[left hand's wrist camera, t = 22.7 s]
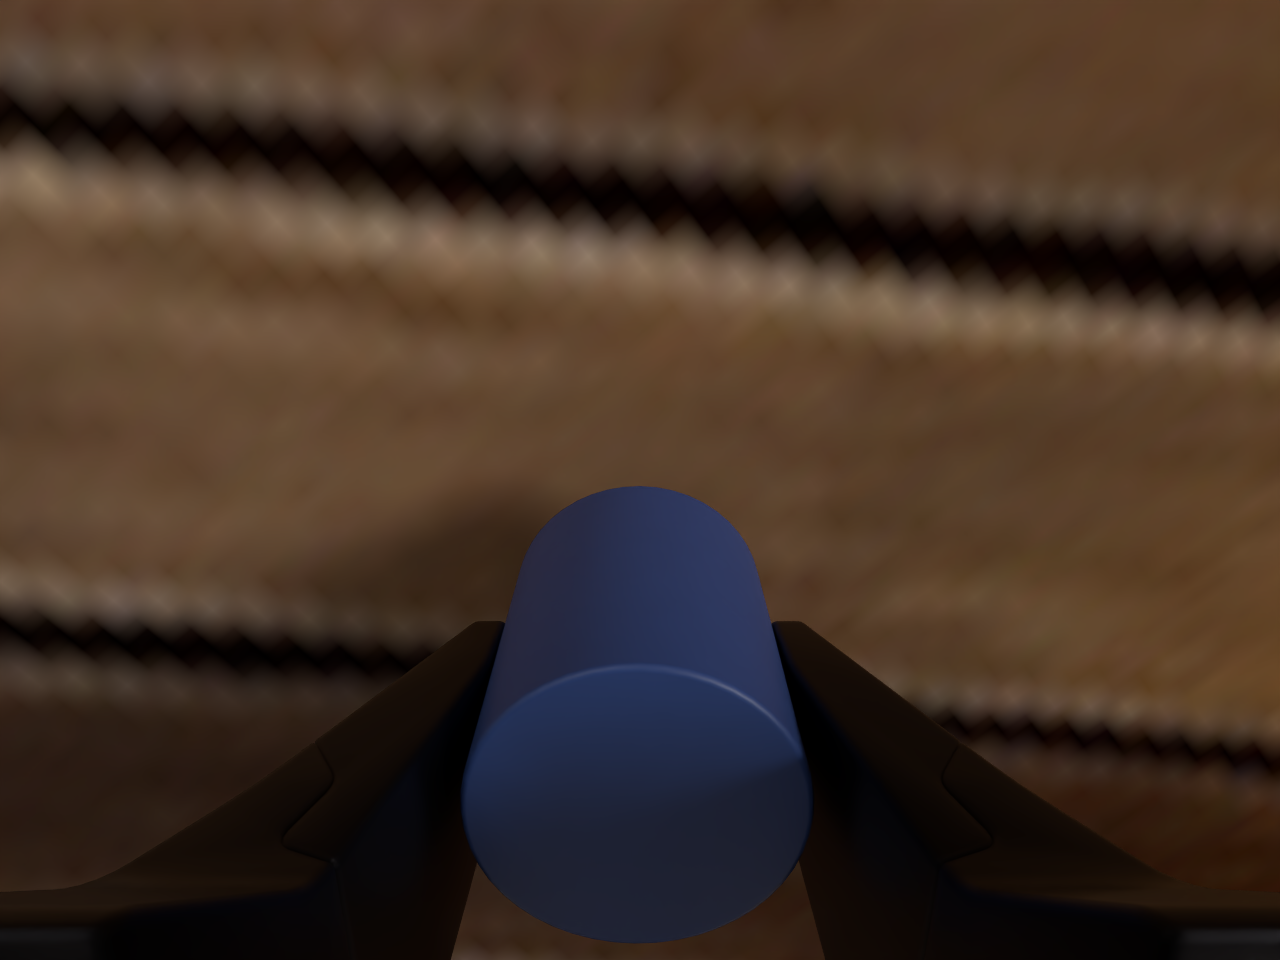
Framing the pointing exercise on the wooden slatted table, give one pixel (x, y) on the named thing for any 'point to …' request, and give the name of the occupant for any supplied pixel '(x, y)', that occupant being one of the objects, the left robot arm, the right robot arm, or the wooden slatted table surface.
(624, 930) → the cylinder
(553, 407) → the wooden slatted table surface
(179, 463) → the wooden slatted table surface
